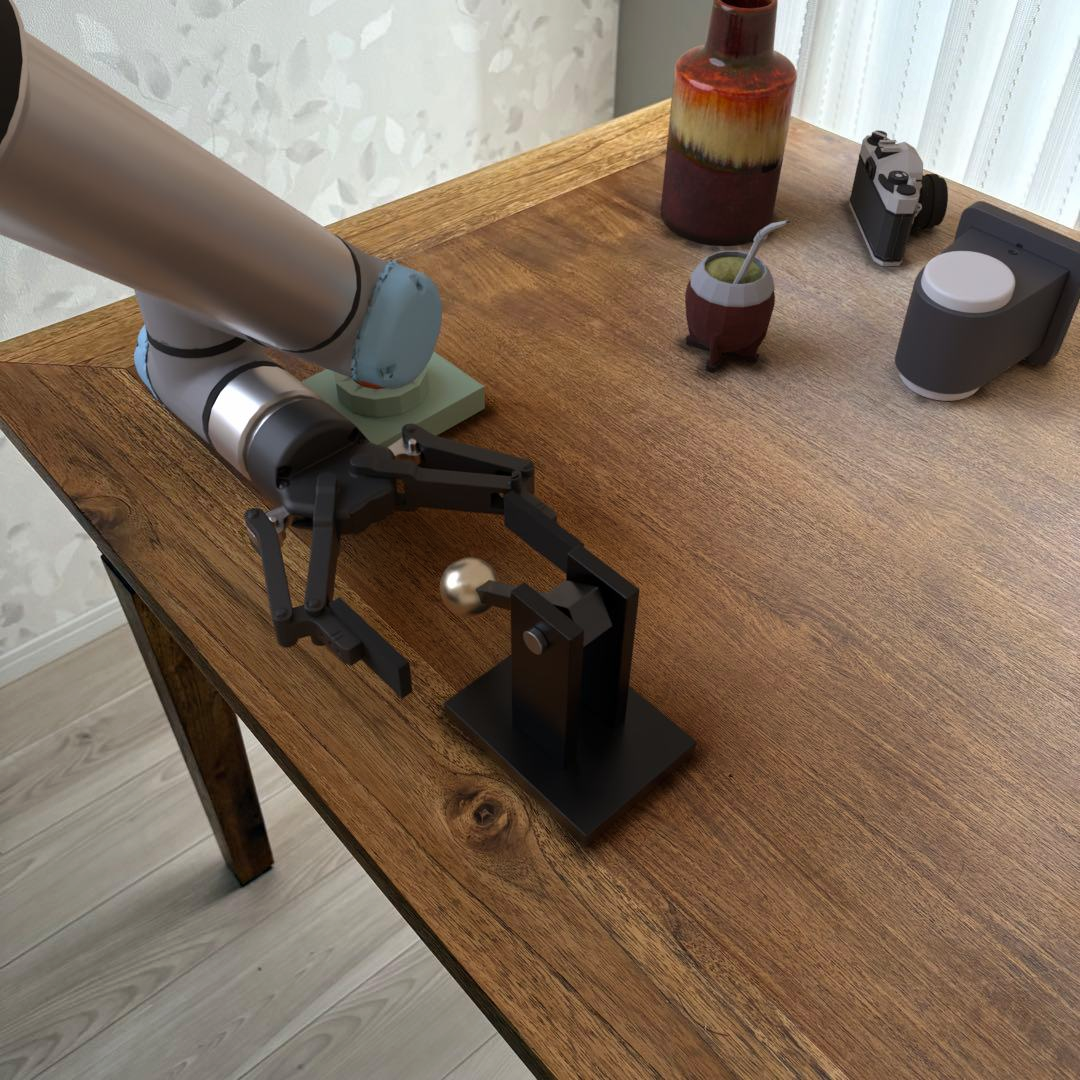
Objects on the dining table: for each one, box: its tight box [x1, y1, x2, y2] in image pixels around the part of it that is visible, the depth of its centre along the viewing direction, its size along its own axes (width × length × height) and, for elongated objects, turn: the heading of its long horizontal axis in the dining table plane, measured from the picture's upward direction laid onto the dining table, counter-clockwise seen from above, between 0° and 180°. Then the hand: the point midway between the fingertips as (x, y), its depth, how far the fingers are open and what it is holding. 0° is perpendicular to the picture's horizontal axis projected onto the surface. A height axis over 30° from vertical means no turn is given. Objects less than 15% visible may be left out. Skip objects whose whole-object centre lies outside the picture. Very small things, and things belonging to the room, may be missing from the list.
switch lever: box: [439, 556, 613, 647], centre depth 62 cm, size 13×4×4 cm, turn 43°
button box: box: [300, 350, 486, 448], centre depth 85 cm, size 12×10×4 cm
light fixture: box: [894, 200, 1080, 402], centre depth 88 cm, size 11×13×11 cm
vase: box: [660, 0, 798, 246], centre depth 101 cm, size 11×11×20 cm
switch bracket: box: [443, 545, 698, 849], centre depth 61 cm, size 12×9×13 cm
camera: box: [848, 129, 949, 267], centre depth 104 cm, size 13×8×9 cm, turn 4°
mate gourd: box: [684, 219, 792, 373], centre depth 87 cm, size 8×8×15 cm
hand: (497, 619), depth 65 cm, fingers open, 13 cm apart
